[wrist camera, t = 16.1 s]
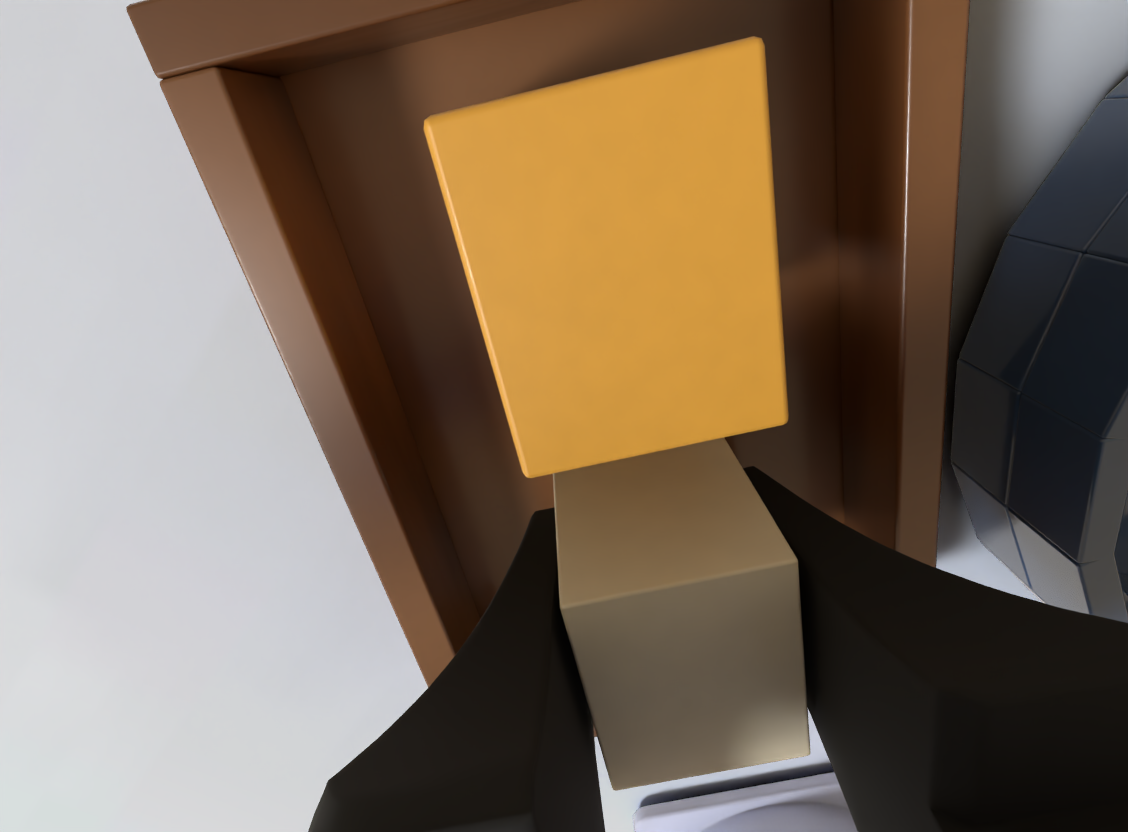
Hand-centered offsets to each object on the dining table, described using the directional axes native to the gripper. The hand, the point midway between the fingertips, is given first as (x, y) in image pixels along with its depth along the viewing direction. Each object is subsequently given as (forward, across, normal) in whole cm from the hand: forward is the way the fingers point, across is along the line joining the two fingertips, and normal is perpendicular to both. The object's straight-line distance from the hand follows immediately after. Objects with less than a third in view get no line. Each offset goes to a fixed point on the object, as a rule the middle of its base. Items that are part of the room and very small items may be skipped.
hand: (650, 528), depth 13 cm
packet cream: (+1, 0, 0) cm, 1 cm away
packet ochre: (+1, 0, -6) cm, 6 cm away
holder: (+1, 0, -3) cm, 3 cm away
